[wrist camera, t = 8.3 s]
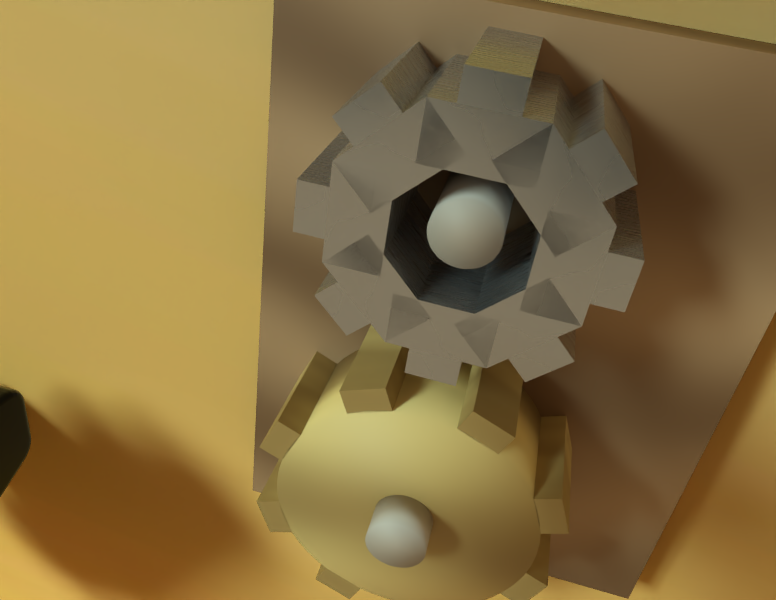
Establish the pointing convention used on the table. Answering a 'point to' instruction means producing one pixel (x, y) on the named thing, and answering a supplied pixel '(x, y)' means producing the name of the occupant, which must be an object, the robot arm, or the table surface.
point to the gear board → (502, 381)
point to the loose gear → (488, 161)
